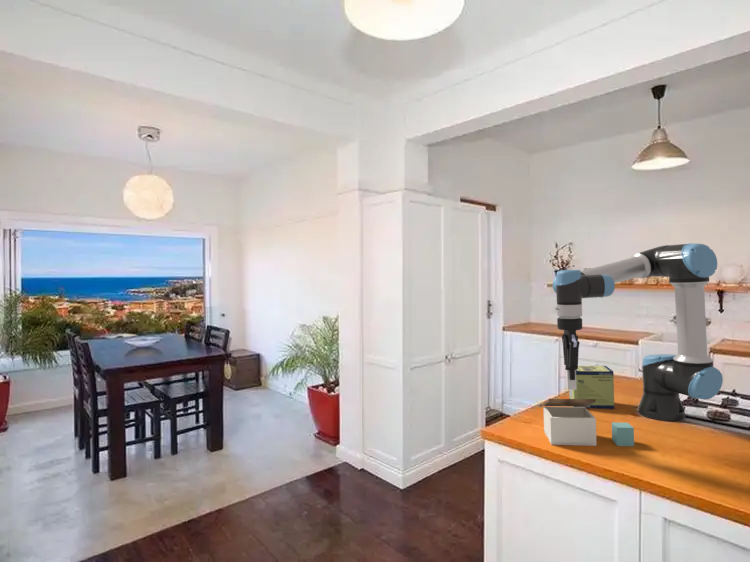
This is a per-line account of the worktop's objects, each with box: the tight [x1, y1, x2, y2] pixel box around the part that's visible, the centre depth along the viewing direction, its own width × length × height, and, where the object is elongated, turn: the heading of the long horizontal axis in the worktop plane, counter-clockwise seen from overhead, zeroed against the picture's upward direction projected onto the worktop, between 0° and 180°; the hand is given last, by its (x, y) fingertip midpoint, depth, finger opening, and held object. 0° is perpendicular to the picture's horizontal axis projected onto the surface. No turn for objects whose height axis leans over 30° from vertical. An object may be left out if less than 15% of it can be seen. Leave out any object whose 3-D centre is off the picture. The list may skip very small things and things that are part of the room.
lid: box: [542, 398, 596, 407], centre depth 156 cm, size 14×13×1 cm
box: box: [538, 403, 597, 447], centre depth 156 cm, size 17×12×10 cm
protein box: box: [568, 365, 615, 410], centre depth 191 cm, size 10×16×16 cm
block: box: [611, 421, 635, 447], centre depth 150 cm, size 5×5×6 cm
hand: (571, 388), depth 150 cm, fingers closed
